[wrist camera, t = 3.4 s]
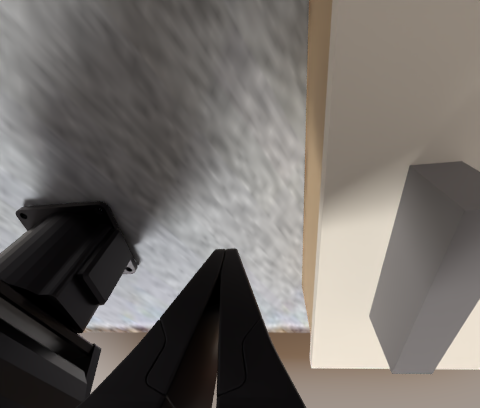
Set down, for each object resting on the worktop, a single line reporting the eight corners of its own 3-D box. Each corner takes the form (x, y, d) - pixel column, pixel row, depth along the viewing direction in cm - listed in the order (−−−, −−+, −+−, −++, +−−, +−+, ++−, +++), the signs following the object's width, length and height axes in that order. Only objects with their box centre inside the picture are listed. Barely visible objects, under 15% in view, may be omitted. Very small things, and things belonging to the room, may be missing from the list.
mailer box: (301, 285, 20) (313, 350, 16) (308, -1, 10) (343, -29, 6) (495, 280, 18) (564, 350, 14) (718, -65, 9) (1141, -162, 5)
